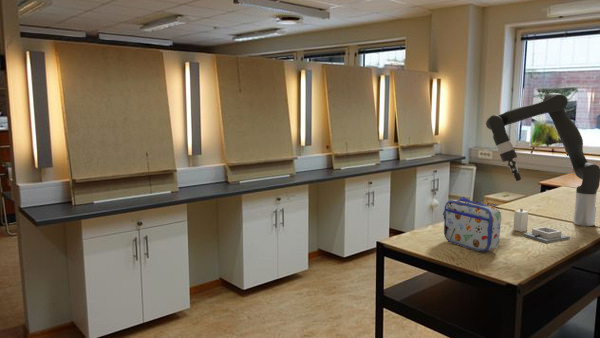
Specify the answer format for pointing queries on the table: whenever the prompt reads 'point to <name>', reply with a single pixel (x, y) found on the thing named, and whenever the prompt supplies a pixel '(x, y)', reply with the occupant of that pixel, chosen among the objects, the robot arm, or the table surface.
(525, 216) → the block
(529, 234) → the charging dock
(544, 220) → the table surface
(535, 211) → the table surface
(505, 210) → the table surface
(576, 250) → the table surface
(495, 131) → the robot arm
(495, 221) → the lunch box
